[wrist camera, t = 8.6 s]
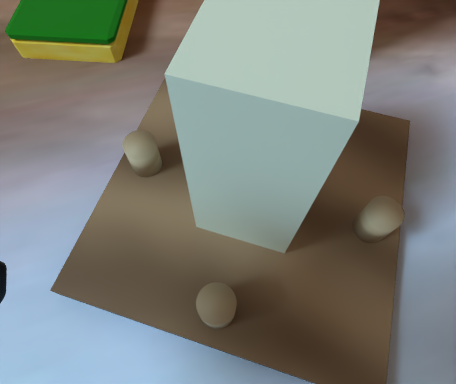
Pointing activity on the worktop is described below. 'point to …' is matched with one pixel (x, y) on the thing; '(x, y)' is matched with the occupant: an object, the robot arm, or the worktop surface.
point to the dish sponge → (72, 29)
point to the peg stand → (252, 258)
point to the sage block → (267, 108)
